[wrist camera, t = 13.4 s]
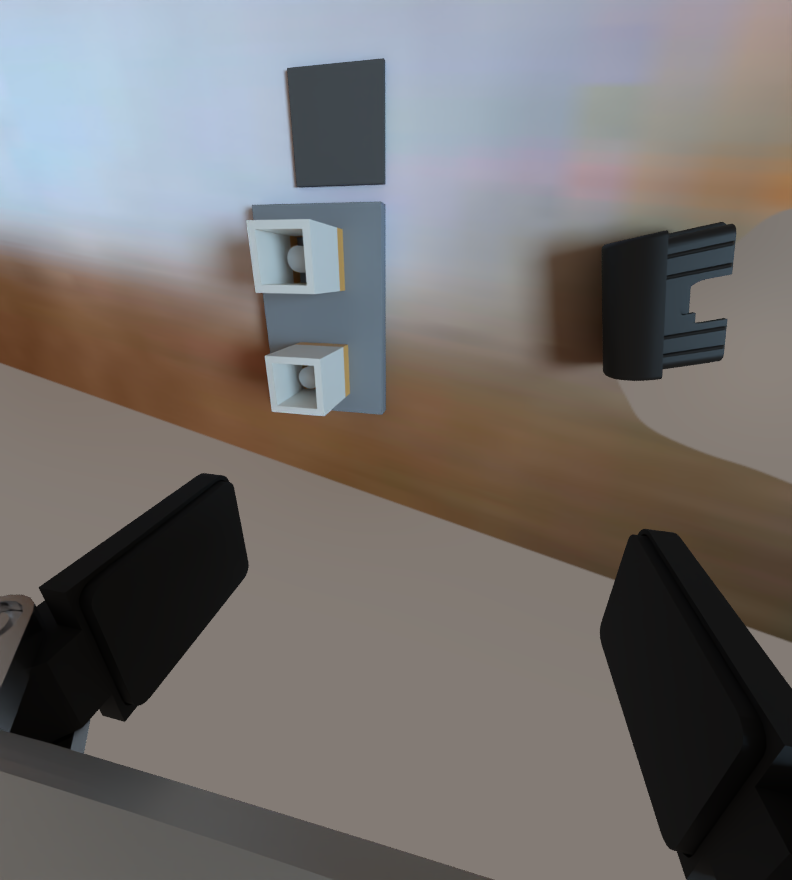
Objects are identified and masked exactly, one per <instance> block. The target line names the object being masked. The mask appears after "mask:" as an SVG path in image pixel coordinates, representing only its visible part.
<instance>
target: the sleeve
mask: <svg viewBox="0 0 792 880" xmlns="http://www.w3.org/2000/svg"><path fill="white" fill-rule="evenodd" d="M265 362H266V370H267V377H268V385H269V393H270V400H271V408H272V412H283V413H294V414H305V415H316V416H325V415H326V414H327V413H328V412H330V411H331V410H332V409H333V408H334V407H335V406H336V405H337V404H339V403H340V402H341V401H342V400H343V399H344V398H345V397H346V396H348V395H349V394H350V382H349V357H348V345H347V344H327V343H307V342H300V343H297V344H295V345H292V346H289V347H287V348H284V349H281V350H279V351H276V352H273V353H271V354H268V355H265ZM308 365H309V366H314V373H315V386H316V387H315V388H312V389H309V388H306V387H304V386H303V385H302V384H301V382H300V380H299V373H300V371H301V370H302V369H304V368H305V367H307V366H308Z"/></svg>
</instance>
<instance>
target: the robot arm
mask: <svg viewBox="0 0 792 880" xmlns="http://www.w3.org/2000/svg"><path fill="white" fill-rule="evenodd" d="M247 571H248V559H247V553H246V548H245V543H244V538H243V533H242V527H241V522H240V517H239V511H238V506H237V501H236V496H235V491H234V487H233V484H232V483H230V482H229V480H228V479H227V477H225V476H222V475H214V474H206V473H205V474H204V473H203V474H200V475H198V476H196V477H195V478H193V479H192V480H191V481H189V482H188V483H187V484H185V485H184V486H182V487H181V488H179V489H178V490H176V491H175V492H174V493H172V494H171V495H169V496H168V497H166V498H165V499H164V500H162V501H161V502H159V503H158V504H157V505H155V506H154V507H152V508H151V509H149V510H148V511H147V512H145V513H144V514H142V515H141V516H139V517H138V518H137V519H135V520H134V521H132V522H131V523H130V524H128V525H127V526H125V527H124V528H122V529H121V530H120V531H118V532H117V533H115V534H114V535H112V536H111V537H110V538H108V539H107V540H106V541H104V542H102V543H101V544H100V545H98V546H97V547H95V548H94V549H92V550H91V551H90V552H88V553H87V554H85V555H84V556H83V557H81V558H80V559H78V560H77V561H75V562H74V563H73V564H71V565H70V566H68V567H67V568H66V569H64V570H63V571H61V572H60V573H58V574H57V575H56V576H54V577H53V578H51V579H50V580H48V581H47V582H46V583H44V584H43V585H41V586H40V587H39V589H40V591H41V593H42V595H43V597H44V599H45V601H43V602H42V603H41V604H39V605H38V606H37V607H36V606H35V604H34V602H33V601H32V599H31V598H30V597H28V596H25V595H6V596H1V597H0V880H493V879H490V878H487V877H484V876H481V875H477V874H474V873H471V872H468V871H465V870H461V869H458V868H455V867H452V866H449V865H445V864H442V863H439V862H436V861H433V860H429V859H426V858H423V857H420V856H417V855H414V854H410V853H407V852H404V851H401V850H397V849H394V848H391V847H388V846H385V845H381V844H378V843H375V842H372V841H369V840H365V839H362V838H359V837H356V836H352V835H349V834H346V833H343V832H339V831H336V830H333V829H330V828H326V827H323V826H320V825H317V824H314V823H310V822H307V821H304V820H301V819H297V818H294V817H291V816H287V815H284V814H281V813H278V812H275V811H271V810H268V809H265V808H261V807H258V806H255V805H252V804H248V803H245V802H242V801H239V800H235V799H232V798H229V797H226V796H222V795H219V794H216V793H213V792H209V791H206V790H203V789H200V788H196V787H193V786H190V785H186V784H183V783H180V782H177V781H173V780H170V779H167V778H163V777H160V776H156V775H153V774H149V773H147V772H143V771H140V770H136V769H133V768H130V767H126V766H123V765H120V764H116V763H113V762H110V761H107V760H103V759H100V758H96V757H93V756H90V755H87V754H84V750H85V744H86V739H87V734H88V729H89V724H90V718H91V717H92V716H93V715H94V714H95V713H96V711H98V709H100V711H101V713H102V715H103V716H106V717H110V718H113V719H117V720H121V721H126V720H127V718H128V717H129V716H130V715H131V713H132V712H133V711H134V710H135V708H136V707H137V706H139V705H141V704H143V703H145V702H146V701H147V700H148V699H149V698H150V697H151V696H152V694H153V693H154V692H155V690H156V689H157V688H158V687H159V685H160V684H161V683H162V681H163V680H164V679H165V678H166V677H167V675H168V674H169V673H170V672H171V670H172V669H173V668H174V666H175V665H176V664H177V663H178V661H179V660H180V659H181V658H182V656H183V655H184V654H185V652H186V651H187V650H188V649H189V647H190V646H191V645H192V643H193V642H194V641H195V640H196V639H197V637H198V636H199V635H200V634H201V632H202V631H203V630H204V628H205V627H206V626H207V625H208V623H209V622H210V621H211V620H212V618H213V617H214V616H215V614H216V613H217V612H218V611H219V609H220V608H221V607H222V606H223V604H224V603H225V602H226V601H227V599H228V598H229V597H230V595H231V594H232V593H233V592H234V590H235V589H236V588H237V587H238V585H239V584H240V583H241V582H242V580H243V579H244V578H245V576H246V574H247ZM600 639H601V643H602V647H603V650H604V653H605V656H606V659H607V663H608V666H609V669H610V672H611V675H612V679H613V682H614V685H615V688H616V692H617V694H618V698H619V701H620V704H621V707H622V710H623V714H624V717H625V720H626V723H627V727H628V730H629V732H630V736H631V739H632V742H633V746H634V749H635V752H636V755H637V758H638V761H639V765H640V768H641V771H642V774H643V777H644V781H645V784H646V787H647V790H648V793H649V796H650V800H651V803H652V806H653V809H654V812H655V816H656V819H657V822H658V825H659V828H660V831H661V834H662V837H663V839H664V841H665V843H666V845H667V846H668V847H669V848H670V849H672V850H674V851H677V853H678V856H679V859H680V862H681V865H682V868H683V871H684V874H685V877H686V879H687V880H792V688H791V687H790V686H789V684H788V683H787V682H786V680H785V679H784V678H783V676H782V675H781V674H780V672H779V671H778V669H777V668H776V667H775V665H774V664H773V663H772V661H771V660H770V659H769V657H768V656H767V655H766V653H765V652H764V650H763V649H762V648H761V646H760V645H759V644H758V642H757V641H756V640H755V638H754V637H753V636H752V634H751V633H750V632H749V630H748V629H747V627H746V626H745V625H744V623H743V622H742V621H741V619H740V618H739V617H738V615H737V614H736V613H735V611H734V610H733V609H732V607H731V606H730V604H729V603H728V602H727V600H726V599H725V598H724V596H723V595H722V594H721V592H720V591H719V590H718V588H717V587H716V585H715V584H714V583H713V581H712V580H711V579H710V577H709V576H708V575H707V573H706V572H705V571H704V569H703V568H702V567H701V565H700V564H699V562H698V561H697V560H696V558H695V557H694V556H693V554H692V553H691V552H690V550H689V549H688V548H687V546H686V545H685V544H684V542H683V541H682V539H681V538H680V537H679V536H678V535H677V534H676V533H673V532H665V531H657V530H649V529H643V530H641V531H640V532H639V534H638V535H631V536H630V537H629V539H628V542H627V545H626V548H625V551H624V554H623V557H622V560H621V563H620V566H619V570H618V573H617V576H616V579H615V582H614V585H613V589H612V591H611V594H610V597H609V600H608V604H607V607H606V610H605V613H604V616H603V619H602V622H601V626H600Z"/></svg>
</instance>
